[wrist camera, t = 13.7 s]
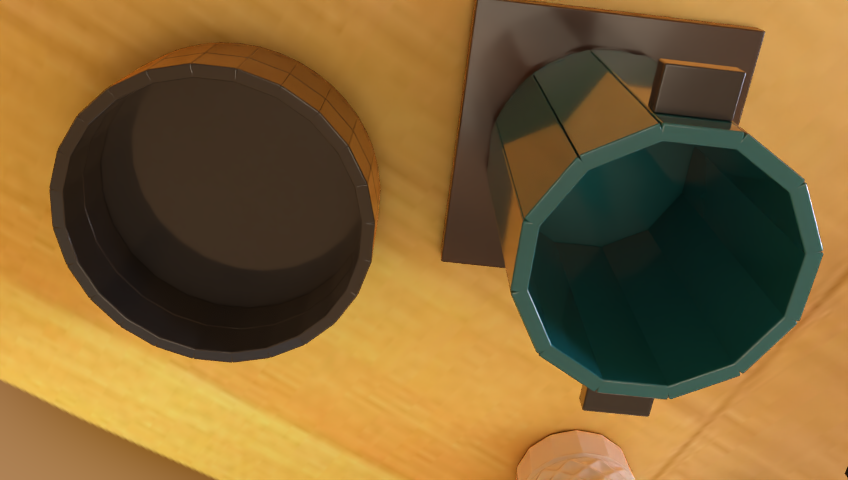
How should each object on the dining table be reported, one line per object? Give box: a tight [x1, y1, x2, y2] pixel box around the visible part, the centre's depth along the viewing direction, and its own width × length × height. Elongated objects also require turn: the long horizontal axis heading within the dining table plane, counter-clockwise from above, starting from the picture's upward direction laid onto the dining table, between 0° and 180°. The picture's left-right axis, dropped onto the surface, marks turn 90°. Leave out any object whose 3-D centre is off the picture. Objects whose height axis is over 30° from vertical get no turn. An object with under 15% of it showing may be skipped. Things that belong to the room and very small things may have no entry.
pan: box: [50, 42, 381, 362], centre depth 37 cm, size 14×14×5 cm
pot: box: [487, 49, 823, 417], centre depth 32 cm, size 13×10×12 cm
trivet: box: [441, 0, 765, 268], centre depth 38 cm, size 13×13×1 cm
